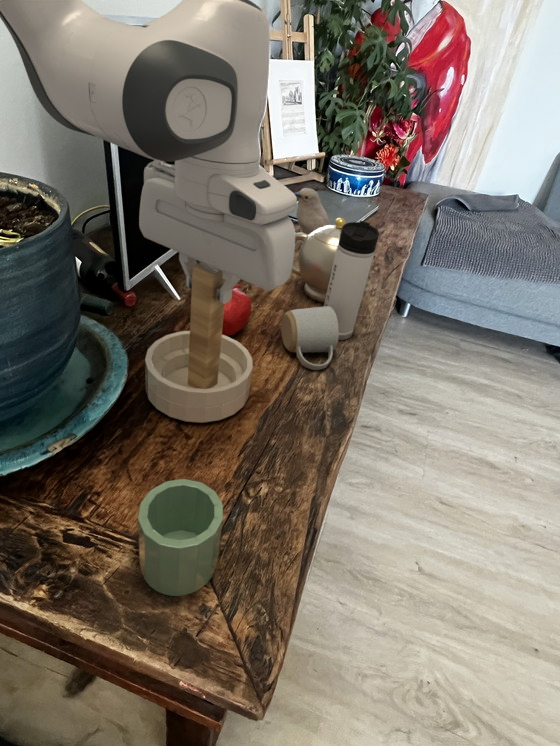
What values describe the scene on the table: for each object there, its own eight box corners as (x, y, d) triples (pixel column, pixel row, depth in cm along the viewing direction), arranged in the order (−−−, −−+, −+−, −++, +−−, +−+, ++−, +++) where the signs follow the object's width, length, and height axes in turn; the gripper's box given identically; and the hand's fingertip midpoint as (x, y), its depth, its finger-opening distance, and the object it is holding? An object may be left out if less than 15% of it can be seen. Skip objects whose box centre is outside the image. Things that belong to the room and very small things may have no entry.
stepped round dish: (205, 442, 64) (207, 407, 61) (123, 393, 69) (122, 359, 66) (266, 390, 75) (272, 358, 71) (192, 351, 80) (194, 319, 76)
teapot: (364, 291, 107) (384, 217, 98) (352, 319, 97) (374, 239, 87) (286, 269, 110) (298, 196, 101) (266, 294, 100) (278, 214, 90)
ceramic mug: (276, 337, 87) (283, 299, 82) (318, 335, 90) (327, 298, 85) (295, 374, 79) (304, 334, 75) (341, 371, 82) (352, 332, 77)
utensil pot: (183, 612, 46) (186, 564, 41) (123, 566, 49) (119, 515, 44) (232, 555, 52) (239, 506, 47) (175, 516, 54) (177, 466, 50)
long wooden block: (204, 393, 68) (212, 274, 57) (187, 384, 69) (192, 265, 59) (217, 383, 70) (228, 267, 60) (201, 374, 71) (208, 259, 61)
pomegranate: (256, 320, 91) (262, 273, 85) (238, 347, 83) (243, 298, 77) (205, 306, 92) (209, 259, 87) (183, 331, 84) (185, 282, 79)
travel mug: (355, 327, 94) (383, 226, 82) (347, 344, 89) (377, 238, 77) (323, 318, 95) (347, 216, 83) (314, 334, 90) (338, 227, 78)
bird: (281, 245, 121) (291, 183, 112) (333, 249, 124) (346, 189, 116) (285, 254, 117) (295, 190, 109) (338, 257, 121) (353, 195, 112)
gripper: (124, 158, 55) (128, 272, 63) (278, 214, 47) (261, 335, 55) (164, 151, 59) (163, 259, 67) (310, 202, 52) (290, 315, 60)
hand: (208, 294), depth 61 cm, fingers closed on long wooden block, 3 cm apart
